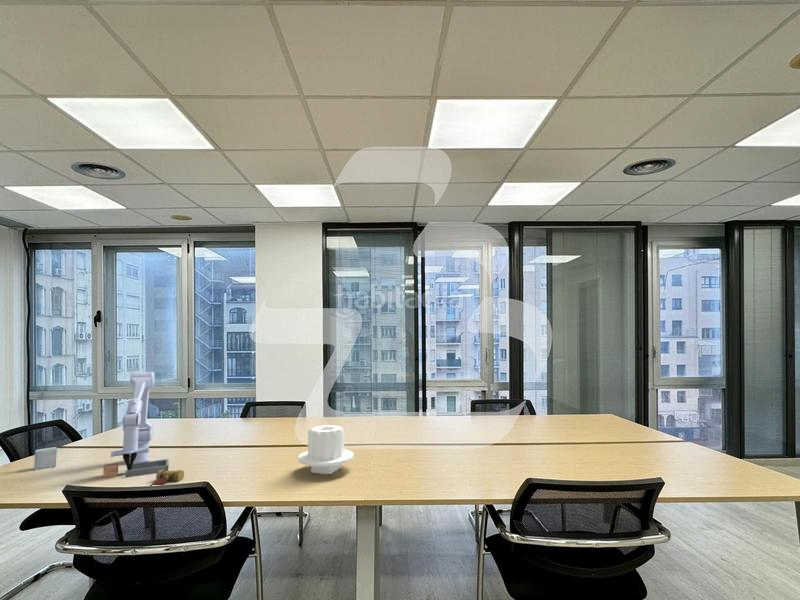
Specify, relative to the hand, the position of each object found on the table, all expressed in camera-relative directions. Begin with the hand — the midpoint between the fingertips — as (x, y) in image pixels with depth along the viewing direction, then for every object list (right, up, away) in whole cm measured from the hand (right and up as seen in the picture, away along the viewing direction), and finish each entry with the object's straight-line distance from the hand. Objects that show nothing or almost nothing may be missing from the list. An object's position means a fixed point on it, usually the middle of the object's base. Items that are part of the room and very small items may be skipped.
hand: (129, 470), depth 191 cm
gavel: (+24, 0, -18) cm, 30 cm away
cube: (-6, -1, -4) cm, 7 cm away
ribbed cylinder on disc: (+90, -1, +1) cm, 90 cm away
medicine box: (-46, -2, +9) cm, 47 cm away
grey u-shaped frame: (+6, -1, +3) cm, 7 cm away
